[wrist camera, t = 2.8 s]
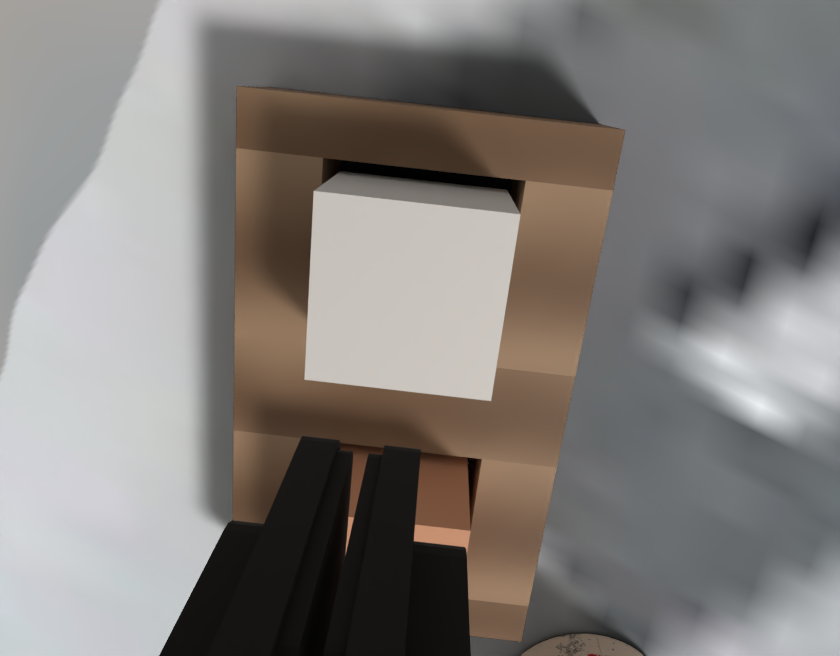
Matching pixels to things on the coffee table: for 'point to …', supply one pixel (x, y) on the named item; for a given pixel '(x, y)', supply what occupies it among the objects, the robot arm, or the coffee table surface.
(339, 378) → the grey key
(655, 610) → the coffee table surface
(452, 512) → the salmon orange block
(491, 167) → the brown slotted base
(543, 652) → the teacup with lid
